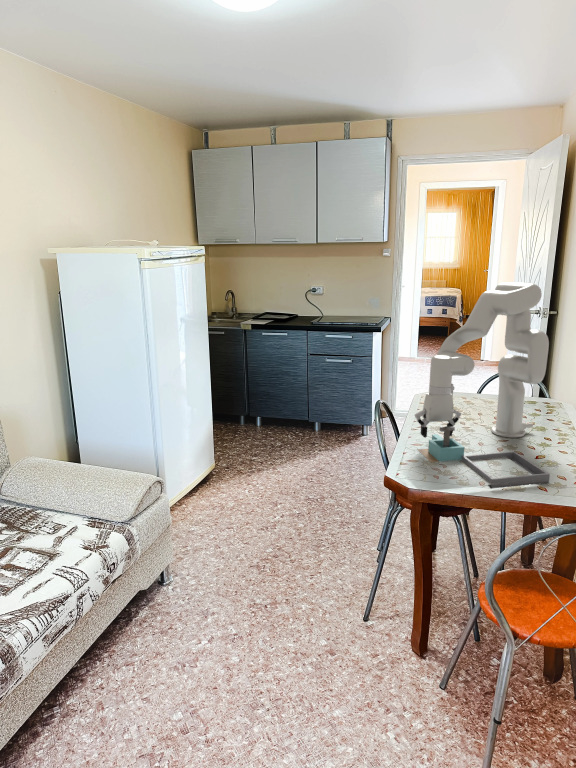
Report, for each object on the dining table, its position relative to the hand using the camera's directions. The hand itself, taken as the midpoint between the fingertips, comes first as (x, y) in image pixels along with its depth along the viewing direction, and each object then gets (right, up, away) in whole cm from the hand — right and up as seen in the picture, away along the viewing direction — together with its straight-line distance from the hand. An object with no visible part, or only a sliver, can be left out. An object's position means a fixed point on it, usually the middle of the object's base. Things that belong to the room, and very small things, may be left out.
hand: (436, 435), depth 191 cm
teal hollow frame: (+1, -6, -3) cm, 7 cm away
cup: (+20, +9, +59) cm, 63 cm away
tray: (+17, -11, -17) cm, 26 cm away
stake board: (0, -8, -4) cm, 8 cm away
